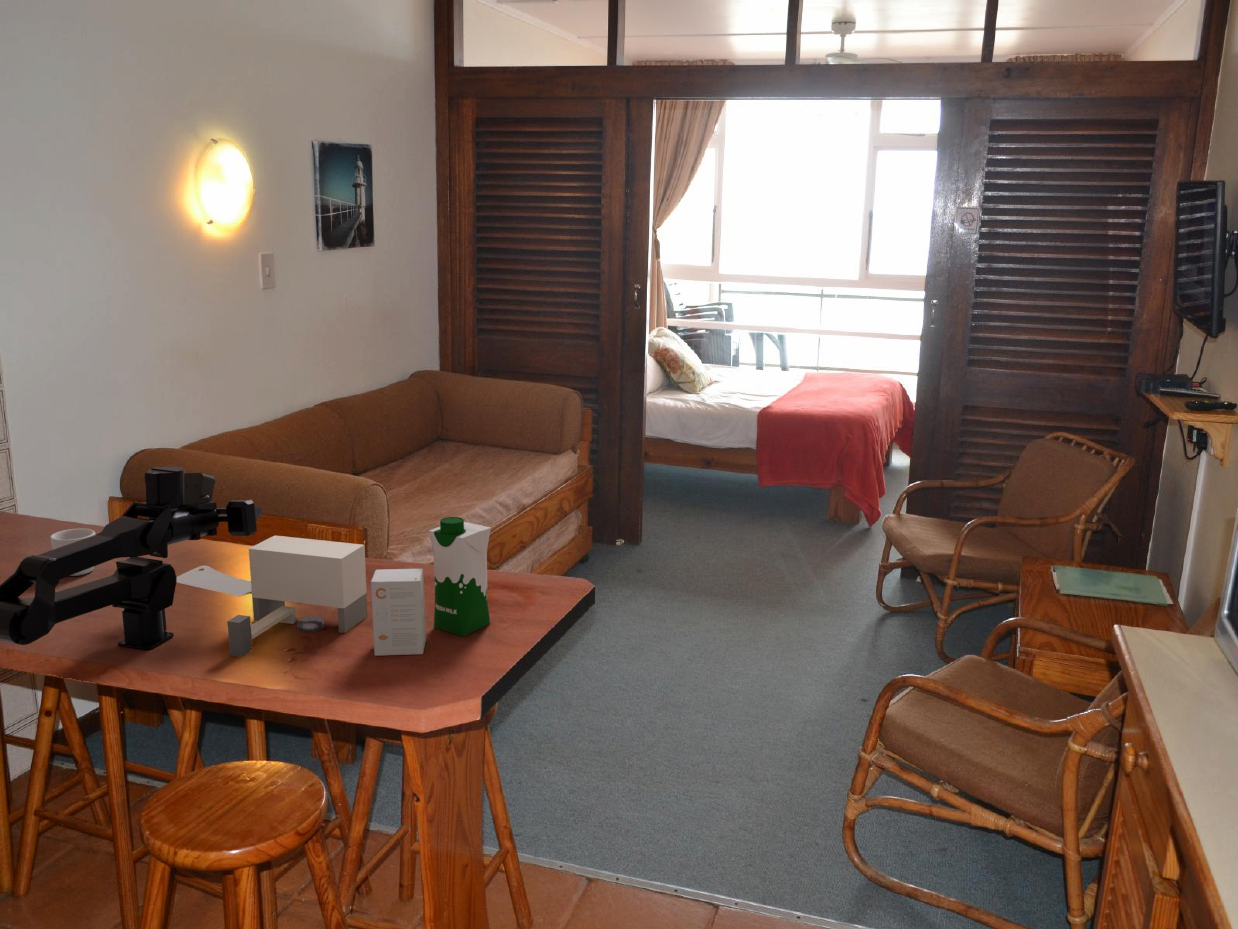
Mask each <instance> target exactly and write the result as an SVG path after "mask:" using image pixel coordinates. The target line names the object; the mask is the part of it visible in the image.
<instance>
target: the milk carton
mask: <svg viewBox="0 0 1238 929" xmlns="http://www.w3.org/2000/svg"><path fill="white" fill-rule="evenodd" d="M439 522H440V523H439V525H440V526H438V527H435V528H432V529H430V530H428V535H429V538H430V543H431V546H432V552H433V573H434V574H433V576H434V579H433V583H434V614H433V615H434V616H433V617H434V618H433V628H434V629H437V630H441V631H445V632H448V633H451V634H454V635H459V636H462V637H466V636H469V635H470V634H472V633H474V632H476V631H478V630H480V629H482V628H484V627H486V626H488V625H490V624H491V619H490V618H491V617H490V610H489V609H490V608H489V602H488V600H489V599H488V563H487V562H488V559H487V557H488V553H487V552H488V547H489V540H490V535H491V531H492V527H490V526H485V525H481V524H476V523H472V522H469V521H468V522H467V521H465V519H464V518H462V517H458V516H447V517H443V518H441V519H440V520H439Z"/></svg>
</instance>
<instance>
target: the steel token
mask: <svg viewBox="0 0 1238 929" xmlns="http://www.w3.org/2000/svg"><path fill="white" fill-rule="evenodd" d="M324 627H325V621H324V618H323V617H322V616H317V615H309V616H304V617H300V618H298V619H297V620H296V629H297V631H298V632H300V633H307V634H308V633H316V632H318V631H321V630H323V629H324Z"/></svg>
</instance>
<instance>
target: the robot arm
mask: <svg viewBox="0 0 1238 929" xmlns="http://www.w3.org/2000/svg"><path fill="white" fill-rule="evenodd" d="M185 471H186V470H185V468H184V467H181V466H155V467H151V468H150V469H148V470H147V472H145V473H144V484H145V501H143V502H138V501H132V503H131V505H130V506H129V507H128V508H127V509H126V510H125V511H124V513H122V515H121V516H119V517H117V518H116V519H114V520H113V521H110V522H109V523H107V524H105V526H104V527H103V528H102V530H101V531H100V532H98V533H95V535H94V536H91V537H88V538H85V539H82V540H80V541H77V542H74V543H71V544H68V545H65V546H62V547H59V548H57V549H54V550H53V549H51V550H48V551H46V552H43V553H39V554H34V555H30V556H26V557H25V558H23V559H22V561H20V563H19V564H18V566H17V568H16V570H15V571H14V573H13V574H11V575H10V576H9V577H8V578H7V579H6V580H5V581H3V582H2V583H1V584H0V642H3V643H4V642H5V643H10V644H14V645H19V646H25V645H30V644H32V643H33V642H36V641H38V640H40V639H42V638H44V637H45V636H47V635H48V634H49V633H50V632H51V630H52V629H53V628H54V626H55V625H57V624H58V623H63V622H64V621H67V620H70V619H74V618H76V617H77V618H78V617H79V616H83V615H86V614H89V613H92V612H95V611H98V610H101V609H104V608H107V607H109V606H112V608H119V609H123V610H122V611H121V615H122V626H123V635H124V638H122V639H120V640H118V641H117V642H116V643H117V646H119V647H127V648H135V649H141V650H151V649H154V648H156V647H157V646H158V645H161V644H162V643H163V642H165V641H167V640H169V639H170V638H173V637H174V636H175V633H174V632H172V631H167V620H166V619H167V618H166V617H167V616H166V610H165V609H167V608H169V607H172V606H173V603H174V598H175V593H176V587H177V577H178V576H177V574H176V570H175V568H174V567H173V565H172V564H170V563H165V562H164V561H163V560H160V559H154V558H148V557H143V556H150V557H155V558H161V559H167V558H169V557H168V556H169V549H168V548H169V545H173V544H177V543H181V542H186V541H198V540H201V539H202V538H201V537H205V536H206V537H215V536H217V535H218V527H219V524H220V523H227V531H228V533H229V534H230V535H231V536H232V537H249V536H253V535H255V534H256V533H257V531H258V529H257V521H258V519H259V518H260V517H261V516H262V514H263V508H262V507H260V506H259V507H255V502H254V501H253V500H252V499H237V500H235V499H234V500H230V501H228V503H227V505H226V506H225V508H223V507H217V501H212V499H213V494H214V488H215V484H216V478H215V477H214V476H212V475H208V474H205V473H202V472H185ZM119 558H126V559H122V560H117V561H115V565H116V570H115V571H114V572H113V574H112V575H108V576H106V577H103V578H98V579H96V580H93V581H89V582H86V583H83V584H80V585H75V586H73V587H69V588H66V589H62V590H59V591H56V588H57V586H58V585H59V583H60V581H61V580H62V579H65V578H67V577H71V576H70V575H73V574H75V573H78V572H81V571H83V570H86V569H89V568H91V567H94V568H95V567H96V566H99V565H101V564H104V563H107V562H110V561H112V560H115V559H119ZM34 583H35V589H34V597H21V596H22V595H23V594H24V593H25V592H26V591H27V590H29V588H31V587H32V586H33V585H34Z"/></svg>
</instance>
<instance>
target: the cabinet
mask: <svg viewBox="0 0 1238 929" xmlns="http://www.w3.org/2000/svg"><path fill="white" fill-rule="evenodd" d="M365 551H366V549H365V544H360V543H359V544H358V543H350V542H349V543H348V542H340V541H332V540H331V541H330V540H324V539H322V540H321V539H312V538H302V537H291V536H283V535H273V536H270V537H269V538H266V539H264V540H263V541H260V542H259V543H257V544H255V545H253V546H251V547H248V558H249V571H250V581H251V589H252V593H251V599H252V601H251V602H252V603H251V604H252V614H253V622H257V621H259V620H260V619H262V618H264V617H265V616H267V615H268V614H270V613H272V612H273V611H275V610H276V609H278V608H280V607H281V606H286V602H288V603H294V604H304V605H305V604H307V605H310V606H311V605H313V606H321V607H327V608H330V607H331V608H336V609H337V616H338V617H337V618H338V619H337V621H338V633H344V634H346V633H347V632H349V631H350V630H351V629H352V628H354V627H355V626H356V625H359V624H360V623H361V622H362V621H363V620H365V619H366V618H368V616H369V615H368V599H367V598H368V597H367V596H368V595H367V594H368V592H367V572H366V570H367V569H366V554H365V553H366V552H365Z"/></svg>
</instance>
